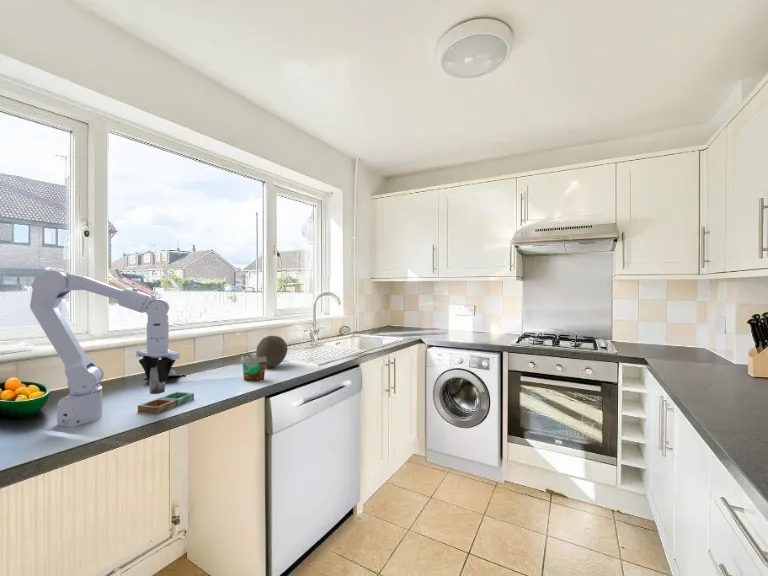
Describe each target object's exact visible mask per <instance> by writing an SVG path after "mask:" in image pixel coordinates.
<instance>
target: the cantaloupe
mask: <svg viewBox="0 0 768 576" xmlns="http://www.w3.org/2000/svg"><path fill="white" fill-rule="evenodd" d="M255 353H256V354H255V356H257V357H265V356H266V359H267V361H266V363H265V368H267V369H268V368H269V369H272V368H275V367H278V366H279V365H280V364H281V363H282V362H283V361H284V359H285V358H286V357H287V354H288V344H287V343H286V341H285V340H284V338H283V337H281V336H279V335H278V336H277V335H268V336H266V337H263V338H262V339H261V340H260V341H259V342H258V344H257V346H256V352H255Z"/></svg>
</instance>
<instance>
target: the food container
mask: <svg viewBox="0 0 768 576" xmlns="http://www.w3.org/2000/svg"><path fill="white" fill-rule="evenodd" d="M266 361H267V359H266V356H265V357H257V356H256V355H251V356H250V355H248V353H244V354H242V355H241V358H240V362H242V374H243V381H245V382H251V381H253V382H261V381H260V380H262V381H265V374H266V367H265V363H266Z"/></svg>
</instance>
